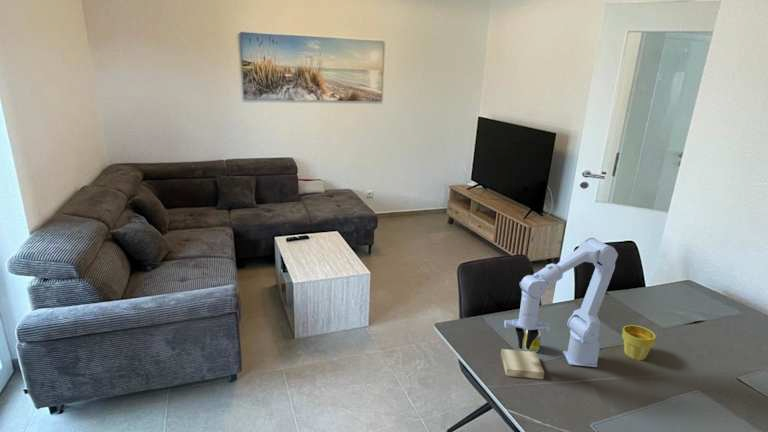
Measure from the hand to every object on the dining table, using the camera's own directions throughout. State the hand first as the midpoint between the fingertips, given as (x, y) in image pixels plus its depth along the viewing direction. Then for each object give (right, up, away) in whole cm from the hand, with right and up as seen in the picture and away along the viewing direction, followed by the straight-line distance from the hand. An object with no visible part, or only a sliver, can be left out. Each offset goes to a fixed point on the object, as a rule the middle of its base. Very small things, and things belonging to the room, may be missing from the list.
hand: (523, 347), depth 150 cm
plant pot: (+44, -7, +11) cm, 46 cm away
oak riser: (0, -8, +2) cm, 8 cm away
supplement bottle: (+7, -5, +13) cm, 15 cm away
